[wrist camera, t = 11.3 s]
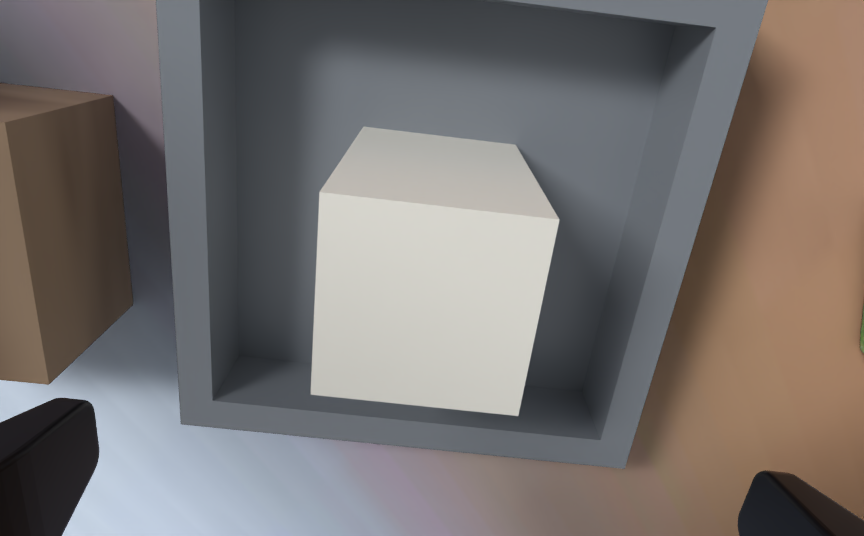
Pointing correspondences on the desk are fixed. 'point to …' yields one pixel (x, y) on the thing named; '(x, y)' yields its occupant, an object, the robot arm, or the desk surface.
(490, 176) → the small block
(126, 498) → the desk surface
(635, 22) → the sorting tray
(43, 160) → the oversize block
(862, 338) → the syrup box
